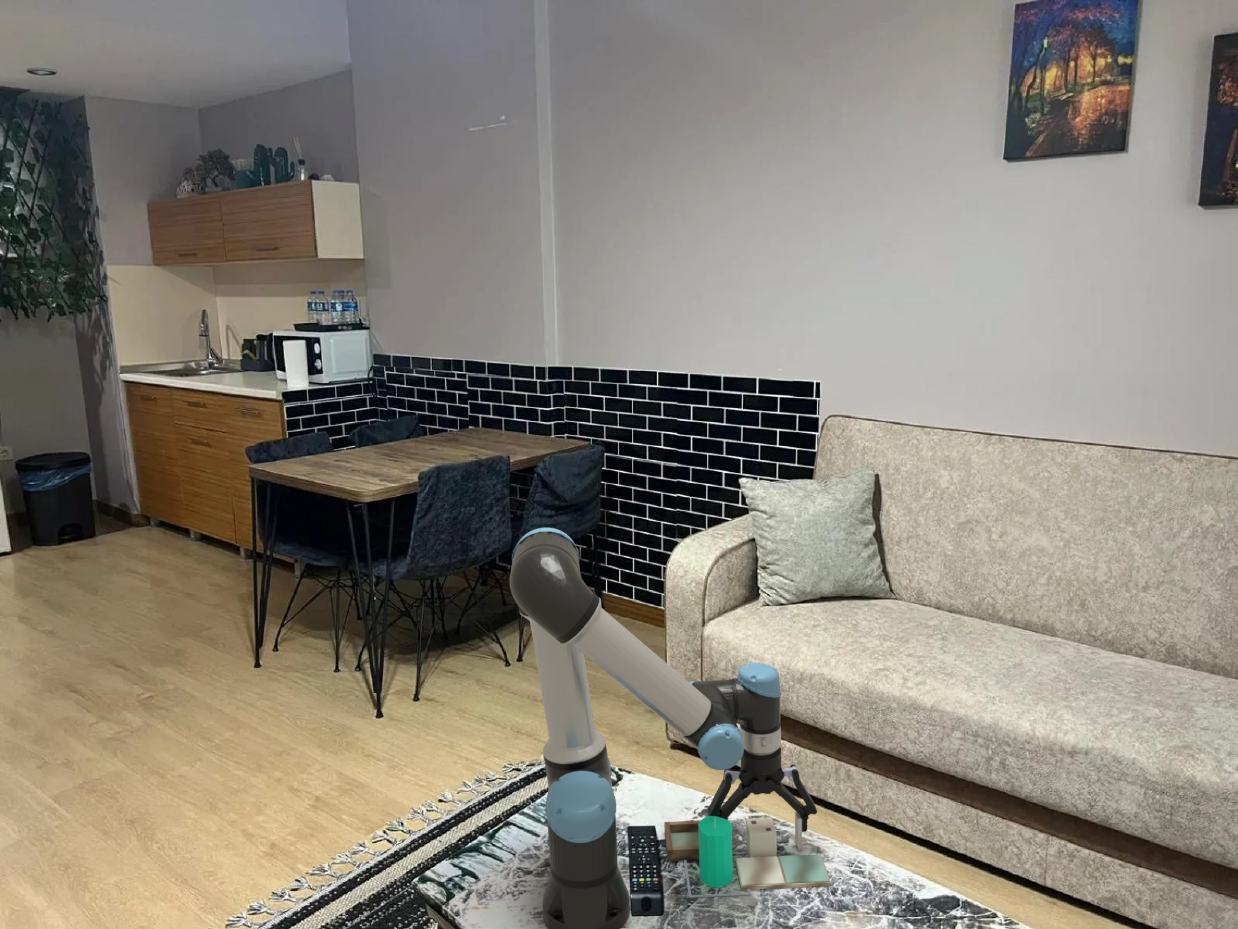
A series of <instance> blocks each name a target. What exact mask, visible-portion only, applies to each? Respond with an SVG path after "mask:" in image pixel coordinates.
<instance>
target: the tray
mask: <svg viewBox="0 0 1238 929" xmlns="http://www.w3.org/2000/svg"><path fill="white" fill-rule="evenodd" d="M701 820H702V819H699V820H697V819H696V820H683V821H682V820H680V821H679V820H678V821H677V820H676V821H664V824H663V825H664V827H663V828H664V839H665V840H666V841H665V848H666V849H667V850H666V856H667V858H666V859H667V862H668V861H671V862H684V860H686V861H687V860H689V861H687V862H691V861H699V828H698V825H699V823H700V821H701ZM696 859H697V860H696Z"/></svg>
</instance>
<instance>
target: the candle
mask: <svg viewBox="0 0 1238 929" xmlns="http://www.w3.org/2000/svg"><path fill="white" fill-rule="evenodd" d="M700 820H701V821H700V823H699V825H698V828H699V860H698V861H699V862H698V863H699V865H698V866H699V879H700V881H701V883H703V884H704V885H706V886H707V887H710V888H711V887H712V888H723V887H726V886H728V885H729V884H731V883H732V880H733V877H734V876H733V875H734V872H733V871H734V870H733V867H734V866H733V859H732V856H733V825H732V824H731V821H730V820H729V819H728V820H726V819H724V818H720V817H716V816H708V815H706V816H705V817H703V818H702V819H700Z"/></svg>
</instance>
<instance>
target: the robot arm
mask: <svg viewBox="0 0 1238 929" xmlns="http://www.w3.org/2000/svg"><path fill="white" fill-rule="evenodd" d="M511 563H512V564H511V568H510V569H511V570H510V575H509V588H510V592H511V595H512V597H513V600H514V601H515V603H516V604H517V605H518V612H519V614H520V615H521V617H524V618H525V619H527V620H528V621H529V623H530V624H529V625H530V629H531V636H532V642H533V649H534V655H535V660H536V666H537V671H538V679H539V683H540V684H539V685H540V690H541V691H540V692H541V696H542V702H543V708H544V715H545V721H546V728H547V733H548V740H547V741H546V742H545V744H544V745H543V749H542V754H543V761H544V767H545V772H546V779H547V785H548V786H547V787H548V791H547V795H546V801H545V817H546V819H547V832H548V833H547V836H548V848H549V849H548V851H549V864H550V866H549V867H550V874H549V878H548V880H547V884H546V888H545V892H544V894H543V899H542V915H543V916H542V917H543V920H544V923H545V925H546V927H547V928H548V929H621V928H622V927H623V926H624V925H625V924H626V922H627V920H628V919H629V916H630V911H631V905H630V904H631V902H630V901H631V900H630V898H631V897H630V893H629V889H628V887H627V885H626V882H625V881H624V878H623V876H622V874H621V870H620V869H619V859H618V858H619V857H618V838H617V836H618V835H617V821H616V820H617V817H616V815H617V814H616V813H617V800H616V796H615V792H614V789H613V784H612V783H613V782H612V766H611V761H610V758H609V756H608V749H607V742H606V738H605V736H604V735H603V734H602V733H601V732H599V731H597V730H596V725H595V724H596V723H595V720H594V713H593V707H592V706H593V705H592V699H591V693H590V692H591V691H590V686H589V681H588V672H587V666H586V659H585V657H586V658H588V660H591V662H593V663H594V664H595V665H597V666H598V668H600V669H601V670H602V671H604V672H605V673H606V674H607V675H608V676H610V678H612V679H613V680H614V681H615V682H617V683H618V684H619V685H620V686H622V688H624V689H625V690H627V692H629V693H630V694H631V695H633V696H634V697H635V698H636V699H638V700H639V702H641V703H642V704H643V705H644V706H645V707H647V708H648V709H650V710H651V711H652V712H653V713H654V714H656V715H657V716H658V717H659V718H660V719H661V720H663V721H664V722H665V723H666V724H667V725H669V726H670V727H671V728H672V729H673V730H674V731H676V732H677V733H679V735H681V736H682V737H683V738H684V739H686V740H687V741H688V742H689V743H690V744H691V745H692V746H694V747H695V748H696V749H697V753H698V755H699V757H700V758H701V759H702V762H703V763H704V765H706V766H707V767H708V768H710V769H713V770H715V771H723V778H722V780H721V782H720V784H719V787H718V788H717V790H716V792H715V794H714V797H713V798H712V800H711V802H710V804H709V806H708V808H707V816H716V817H720V818H724V819H726V820H728V821H729V817H730V816H731V815H732V814H733V812H734V811H735V810H736V809H737V808H738V807H739V806H740V804H741V803H742V802H743V801H744V800H745V799H747V798H748V797H749V796H750V795H751V794H753V795H754V796H756V795H757V796H758V795H762V794H763V795H764V794H765V795H771V794H772V793H773V792H775V793H776V794H777V795H778V796H779V797H781V798H782V799H783V800H784V801H785V802H786V803H787V804H788V805H789V807H791V808H792V809H793V810H794V833H795V834H794V837H795V839H794V840H795V842H794V843H795V845H796V848H797V850H798V851H803V833H806V832H807V831H808V820H809V816H810V815H816V814H818V810H817V806H816V804H815V802H814V800H813V799H812V797H811V795H810V794H809V792H808V790H807V789H806V787H805V785H804V784H803V782H802V781H801V778H800V772H799V770H798V768H797V765H796V764H794V763H791V765H790V766H789V767H788V768H787V767H786V768H782V748H781V747H782V736H781V735H782V732H781V729H782V728H781V696H782V692H781V683H780V673H779V671H778V669H776V668H775V667H774V666H773V665H771V664H768V663H763V662H751V663H748V664H745V665H744V664H743V665H742V666H741V667H740V668H739V670H738V673H737V677H736V678H731V679H729V678H728V679H714V680H701V681H696V680H693V681H688V680H687V679H686V678H684V677H683V676H682V675H681V674H680V673H679V672H677V671H676V670H675V669H674V668H673V667H672V666H671V665H669V664H668V663H667V662H666V661H665V660H663V658H661V657H660V656H659V655H658V654H656V653H655V652H654V651H653V650H652V649H651V648H649V647H648V646H647V645H646V644H645V643H643V642H642V641H641V640H640V639H639V638H637V636H635V635H634V634H633V633H631V631H629V630H628V629H627V628H626V627H625V626H624V625H622V624H621V623H620V622H619V621H617V619H615V618H614V617H613V616H612V615H610V614H609V613H608V612H607V611H606V610H605V609H604V608H602V599H601V598H600V597H599V596H598V595H597V594H596V593H594V592H593V591H592V590H591V589H590V588H589V587H588V586H587V584H586V582H584V580H583V578H582V577H581V570H580V554H579V549H578V548H577V545H576V544H575V542H574V540H573V539H572V538H571V537H570V536H569V535H568V534H567V533H566V532H563V530H560V529H558V528H553V527H539V528H536V529H532V530H531V531H529V532H527V533H526V534H525V535H523V536H522V537H520V540H518V542H517V544H516V546H515V547H514V549H513V551H512V554H511ZM738 721H739V727H738V724H737V722H738ZM739 762H740V767H739V768H740V769H739V770H738V771H737V770H735V771H734V770H731V768H733V767H736V765H737V764H738V763H739ZM785 777H787V779H788V780H789V781H790V782H793V784H794V787H795V788H796V790H797V792H798V793H799V795H800V797H801V798H802V800H803V801H804V803H805V805H804V804H803V803H802V802H801V801H800V800H799V799H797V797H796V796H794V794H793V793H792V792H791V791H789V789H788V788H786V786H785V785H783V783H782V781H783V780H784V778H785ZM737 780H739V781H740V783H739V784H738V786H737V788H736V789H735V791H734V792H733V793H732V794H731V795H730V796H729V798H727V796H728V794H729V792H730V790H731V787H732V785H734V784H735V783H736V781H737ZM725 800H726V801H725Z"/></svg>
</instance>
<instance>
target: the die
mask: <svg viewBox="0 0 1238 929" xmlns="http://www.w3.org/2000/svg"><path fill="white" fill-rule="evenodd" d="M777 834H778V833H777V830H776V826H775V823H774V820H773V818H772V817H761V818H759V817H757V818H745V841H746V842H745V843H746V847H747V851H748V854H749V858H751V857H773V856H777V857H778V851H777V850H778V848H777V844H778V842H777V839H778V838H777V837H778V835H777Z"/></svg>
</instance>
